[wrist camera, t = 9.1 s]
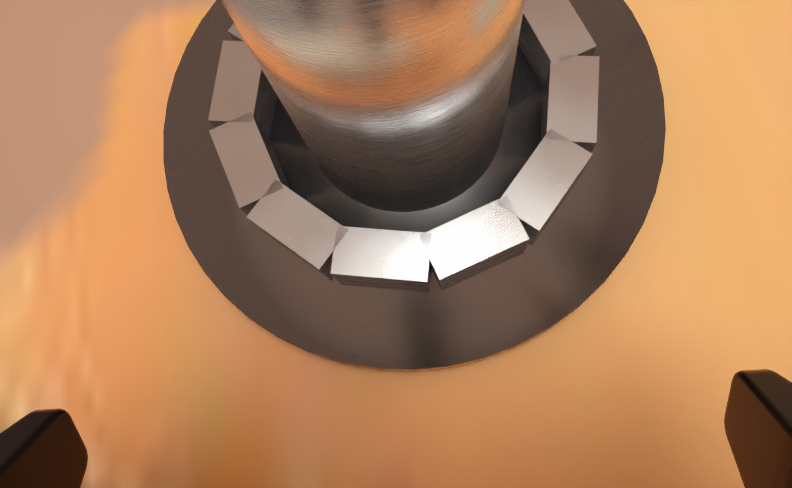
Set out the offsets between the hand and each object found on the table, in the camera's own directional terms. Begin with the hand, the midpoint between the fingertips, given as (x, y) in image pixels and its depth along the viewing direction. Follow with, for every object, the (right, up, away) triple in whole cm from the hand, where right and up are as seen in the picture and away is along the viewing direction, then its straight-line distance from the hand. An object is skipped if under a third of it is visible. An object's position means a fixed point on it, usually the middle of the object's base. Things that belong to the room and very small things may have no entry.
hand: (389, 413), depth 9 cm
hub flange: (0, +6, +10) cm, 12 cm away
